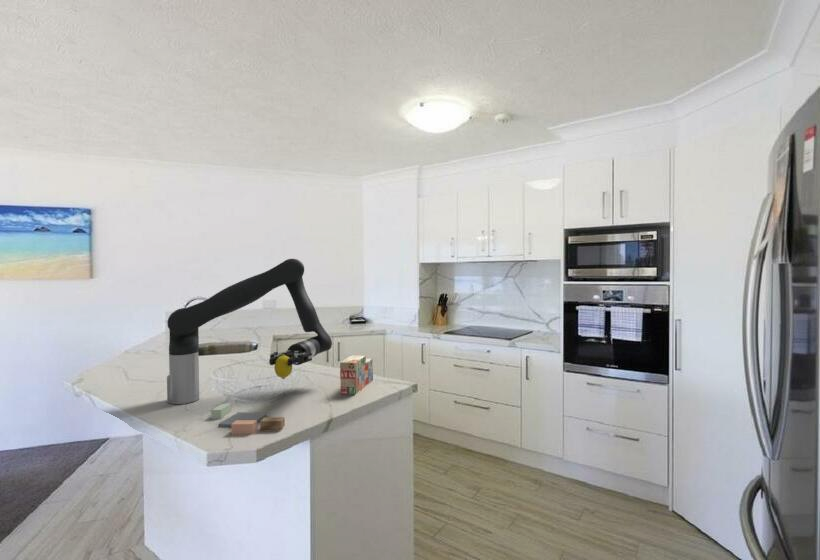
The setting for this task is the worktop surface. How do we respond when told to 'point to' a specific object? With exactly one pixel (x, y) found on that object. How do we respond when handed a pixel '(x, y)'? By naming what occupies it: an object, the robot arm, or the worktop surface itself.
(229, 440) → the worktop surface
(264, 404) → the worktop surface
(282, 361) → the lemon
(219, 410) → the brick sage
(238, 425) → the brick terracotta
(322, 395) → the worktop surface
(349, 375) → the stack of blocks
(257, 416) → the coaster
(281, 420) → the brick walnut
